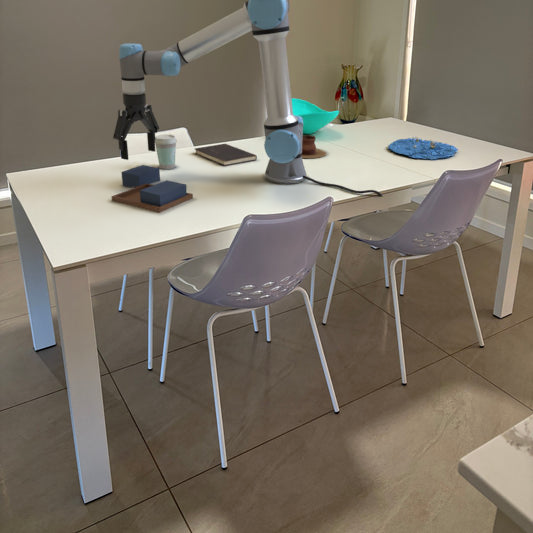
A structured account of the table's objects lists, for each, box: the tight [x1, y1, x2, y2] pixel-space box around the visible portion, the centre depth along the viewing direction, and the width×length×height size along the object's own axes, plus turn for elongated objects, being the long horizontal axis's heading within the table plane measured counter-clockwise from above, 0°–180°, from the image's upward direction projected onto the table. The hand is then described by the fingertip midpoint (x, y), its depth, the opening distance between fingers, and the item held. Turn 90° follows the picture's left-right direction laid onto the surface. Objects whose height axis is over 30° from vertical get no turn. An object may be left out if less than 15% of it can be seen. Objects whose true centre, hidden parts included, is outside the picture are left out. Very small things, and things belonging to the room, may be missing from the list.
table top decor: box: [291, 97, 340, 135], centre depth 284 cm, size 40×28×13 cm
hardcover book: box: [194, 143, 258, 167], centre depth 244 cm, size 16×23×2 cm
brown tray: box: [111, 184, 194, 213], centre depth 194 cm, size 21×17×2 cm
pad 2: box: [140, 179, 188, 207], centre depth 191 cm, size 8×13×5 cm, turn 148°
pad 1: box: [120, 164, 161, 188], centre depth 210 cm, size 8×11×5 cm
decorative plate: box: [387, 136, 459, 160], centre depth 256 cm, size 30×30×5 cm
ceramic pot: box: [302, 134, 327, 159], centre depth 250 cm, size 18×18×7 cm
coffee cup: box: [155, 134, 178, 170], centre depth 228 cm, size 8×9×12 cm
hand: (138, 154), depth 207 cm, fingers open, 13 cm apart
